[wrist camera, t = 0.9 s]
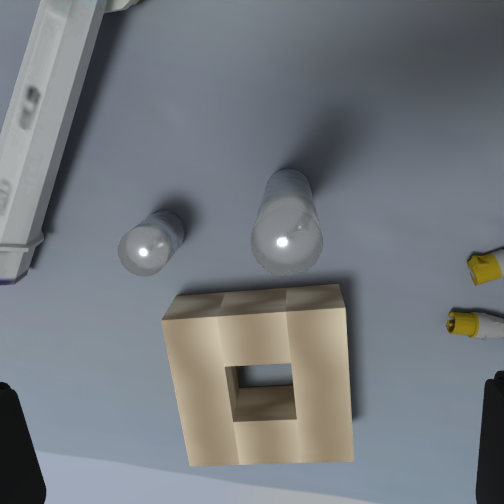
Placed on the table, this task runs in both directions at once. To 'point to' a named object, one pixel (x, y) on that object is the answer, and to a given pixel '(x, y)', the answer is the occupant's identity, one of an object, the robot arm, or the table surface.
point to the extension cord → (482, 323)
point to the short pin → (151, 243)
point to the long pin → (287, 226)
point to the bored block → (259, 353)
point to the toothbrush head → (43, 122)
